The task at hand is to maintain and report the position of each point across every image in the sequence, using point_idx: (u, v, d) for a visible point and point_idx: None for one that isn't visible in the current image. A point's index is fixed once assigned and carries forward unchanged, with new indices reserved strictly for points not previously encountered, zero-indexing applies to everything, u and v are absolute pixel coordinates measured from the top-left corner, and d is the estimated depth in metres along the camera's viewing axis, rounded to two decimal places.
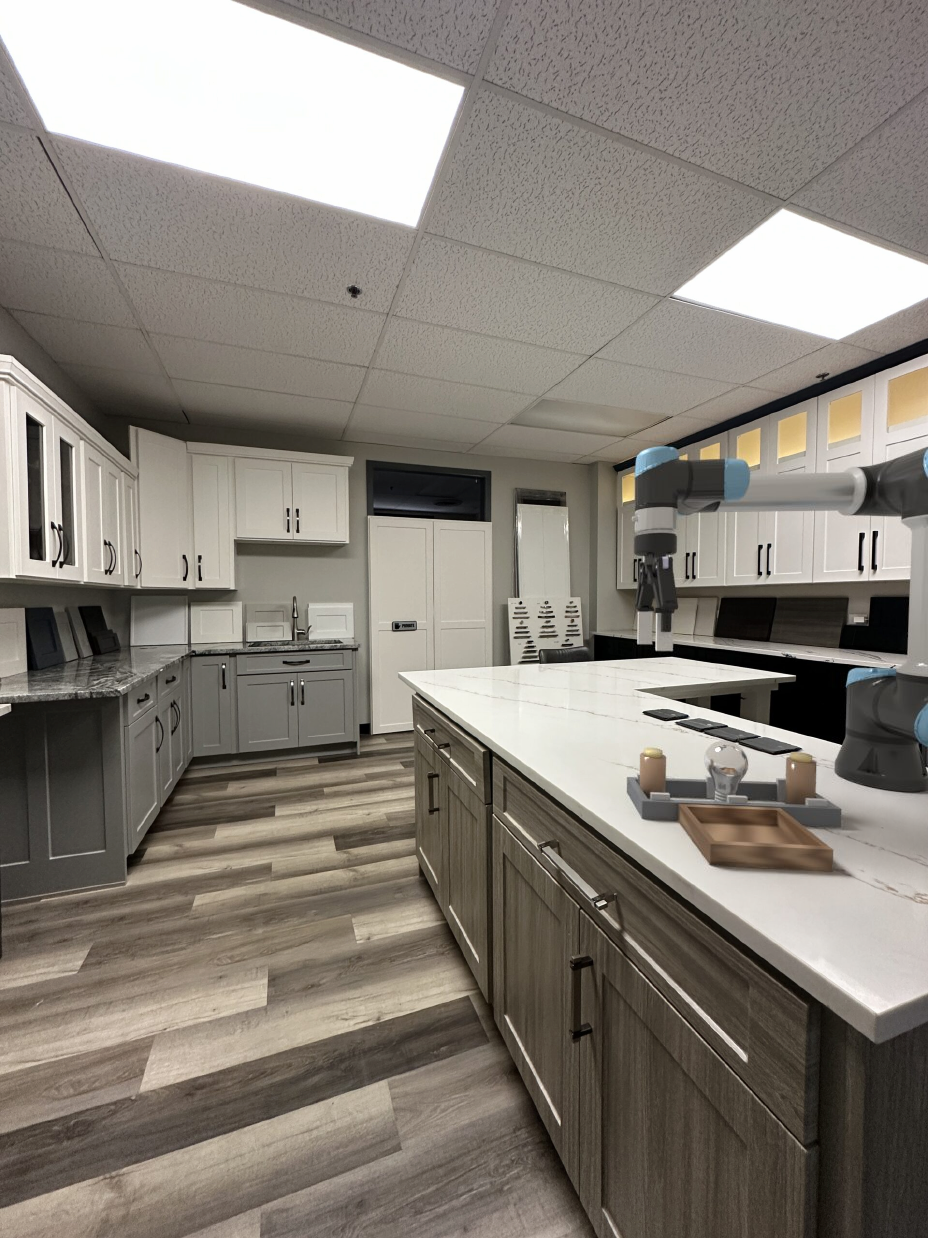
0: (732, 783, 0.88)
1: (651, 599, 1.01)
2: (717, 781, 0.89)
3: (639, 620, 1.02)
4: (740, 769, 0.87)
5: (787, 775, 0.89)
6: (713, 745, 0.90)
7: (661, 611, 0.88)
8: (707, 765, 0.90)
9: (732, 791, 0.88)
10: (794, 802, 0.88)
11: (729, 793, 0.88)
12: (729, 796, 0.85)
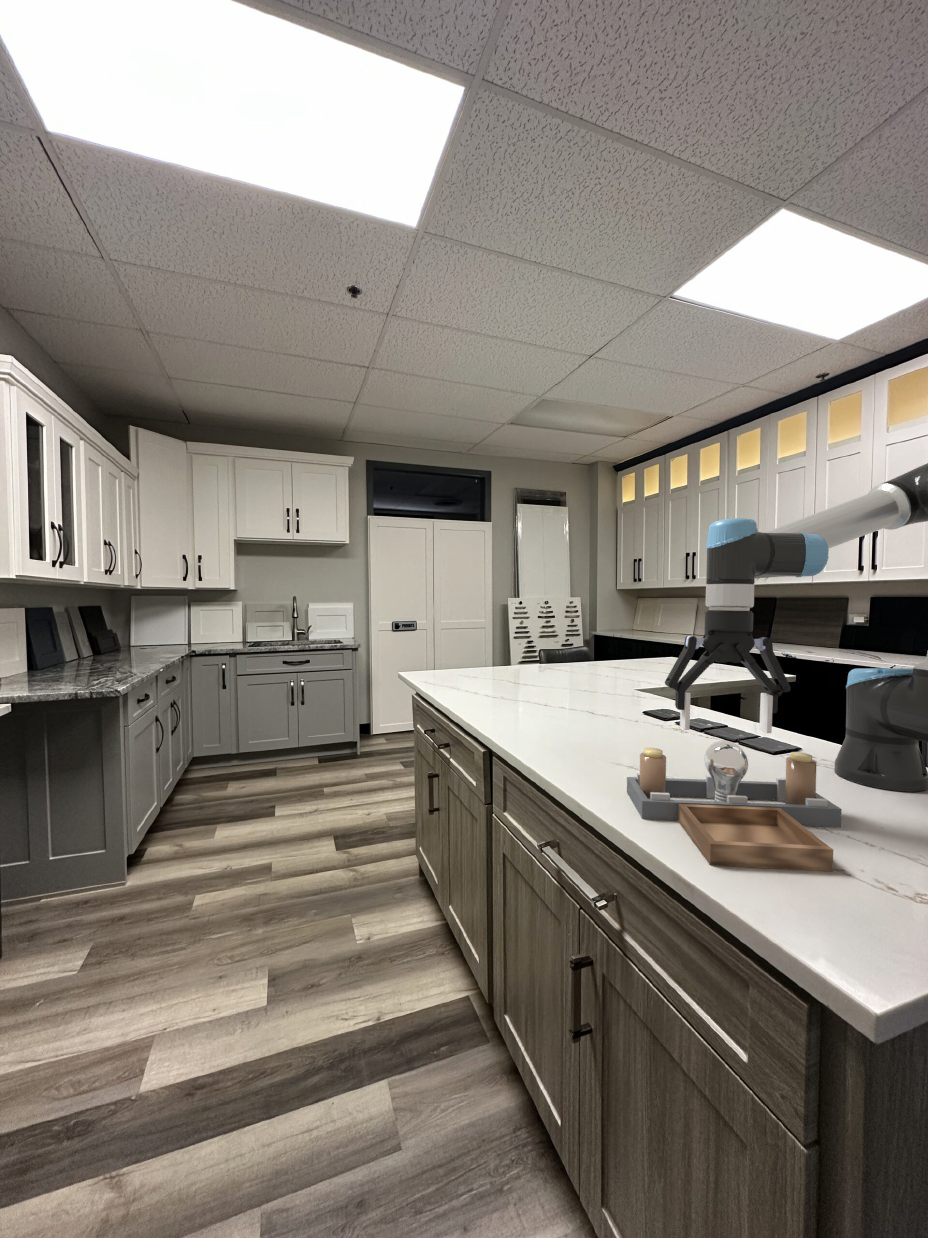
0: (732, 783, 0.88)
1: (761, 680, 0.88)
2: (717, 781, 0.89)
3: (761, 702, 0.90)
4: (740, 769, 0.87)
5: (787, 775, 0.89)
6: (713, 745, 0.90)
7: None
8: (707, 765, 0.90)
9: (732, 791, 0.88)
10: (794, 802, 0.88)
11: (729, 793, 0.88)
12: (729, 796, 0.85)
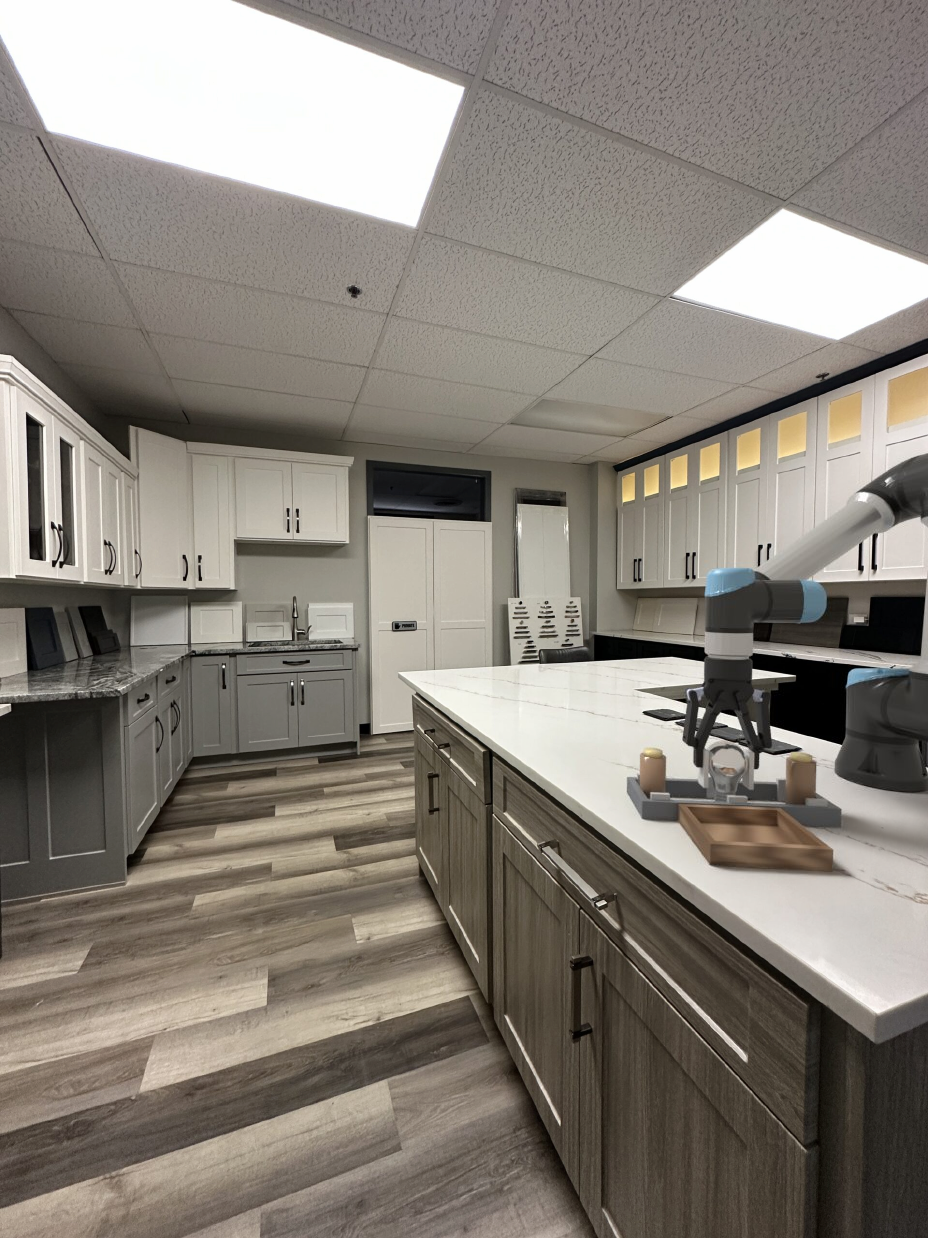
0: (732, 783, 0.88)
1: (747, 733, 0.89)
2: (717, 781, 0.89)
3: None
4: (740, 769, 0.87)
5: (787, 775, 0.89)
6: (712, 745, 0.90)
7: None
8: None
9: (732, 791, 0.88)
10: (794, 802, 0.88)
11: (729, 793, 0.88)
12: (729, 796, 0.85)
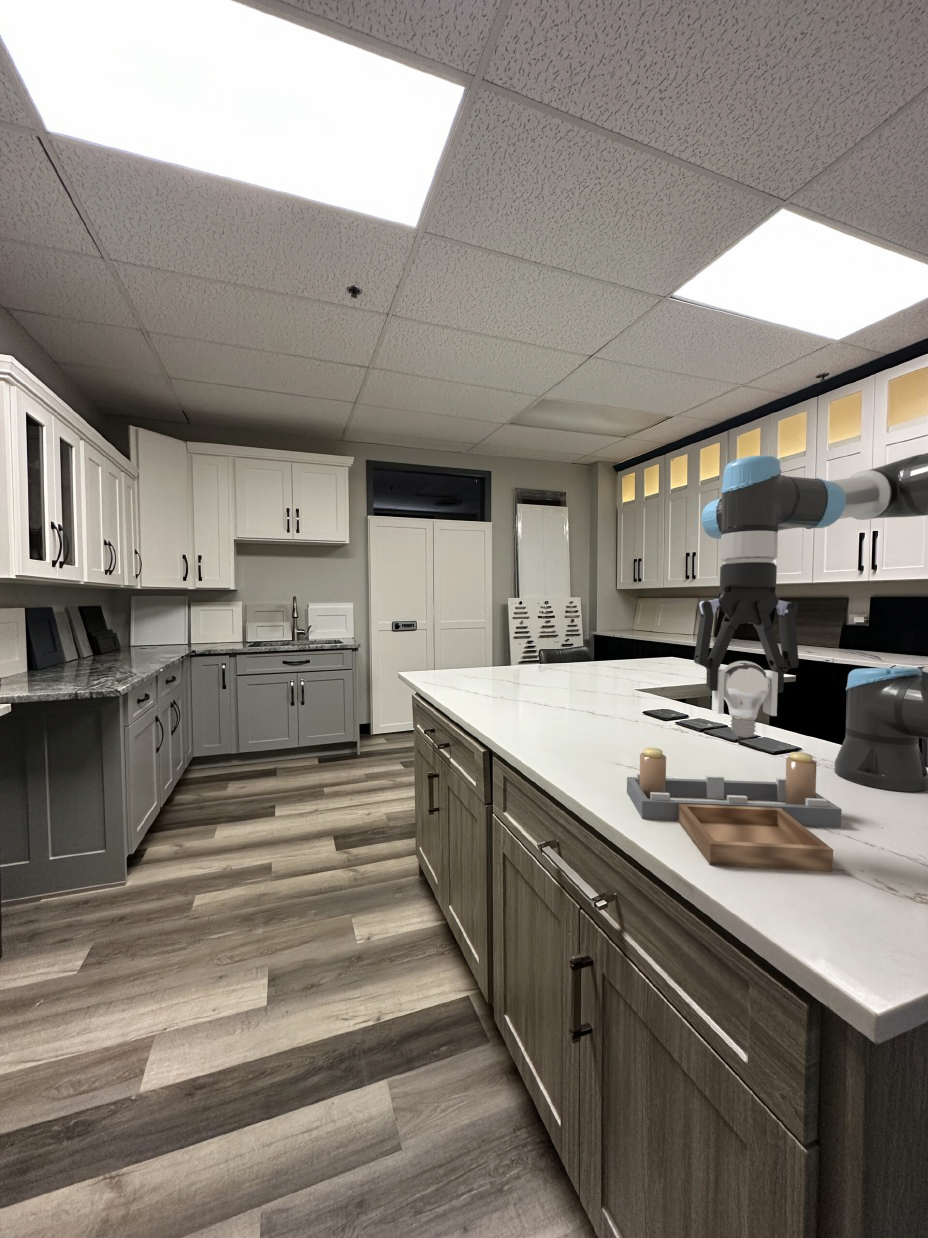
0: (751, 707, 0.76)
1: (769, 650, 0.77)
2: (734, 706, 0.77)
3: None
4: (760, 690, 0.75)
5: (787, 775, 0.89)
6: (729, 665, 0.78)
7: None
8: None
9: (751, 717, 0.76)
10: (794, 802, 0.88)
11: (747, 719, 0.76)
12: (729, 796, 0.85)
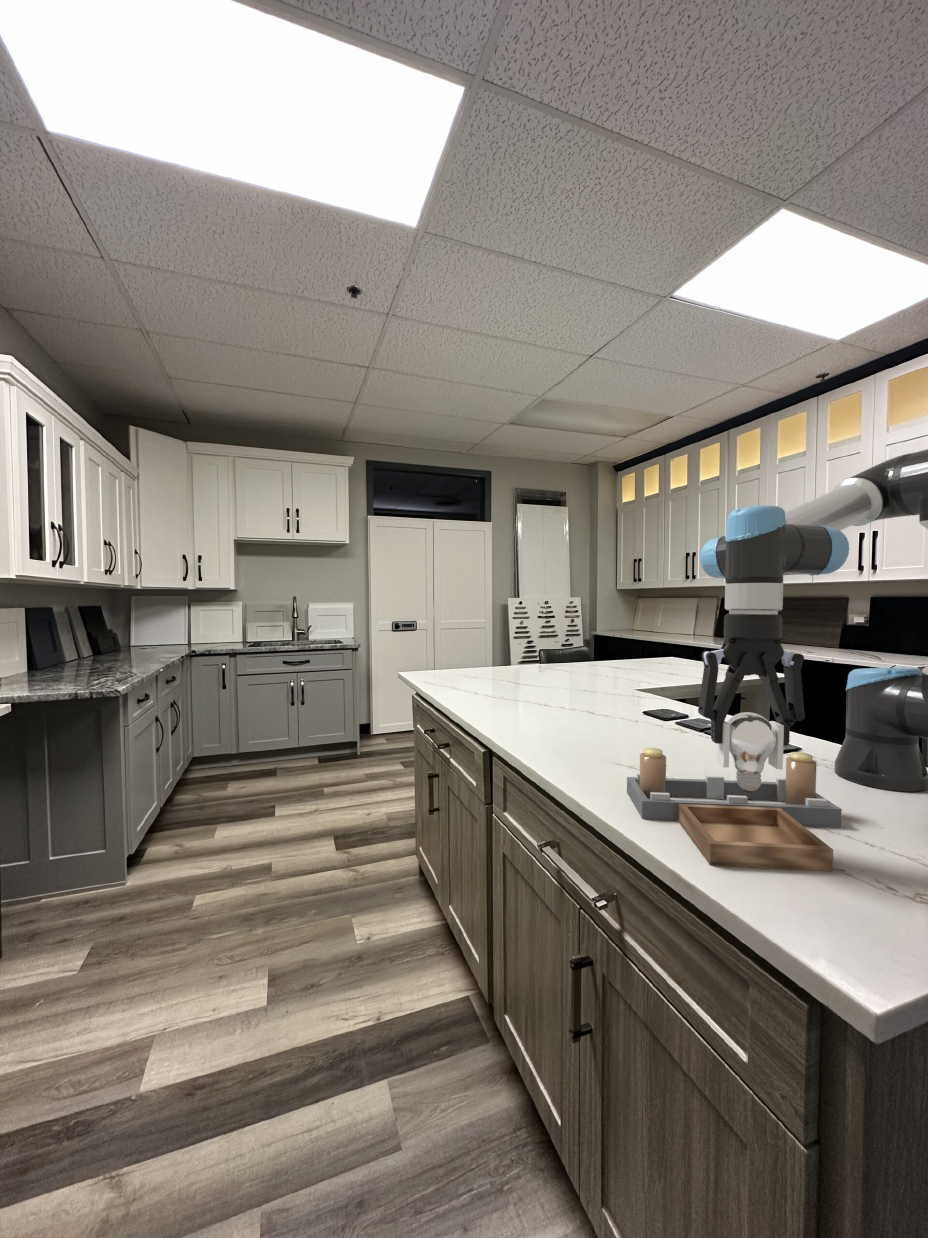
0: (757, 761, 0.74)
1: (775, 702, 0.75)
2: (739, 760, 0.76)
3: None
4: (767, 744, 0.73)
5: (787, 775, 0.89)
6: (734, 717, 0.77)
7: None
8: None
9: (758, 771, 0.75)
10: (794, 802, 0.88)
11: (753, 773, 0.75)
12: (729, 796, 0.85)
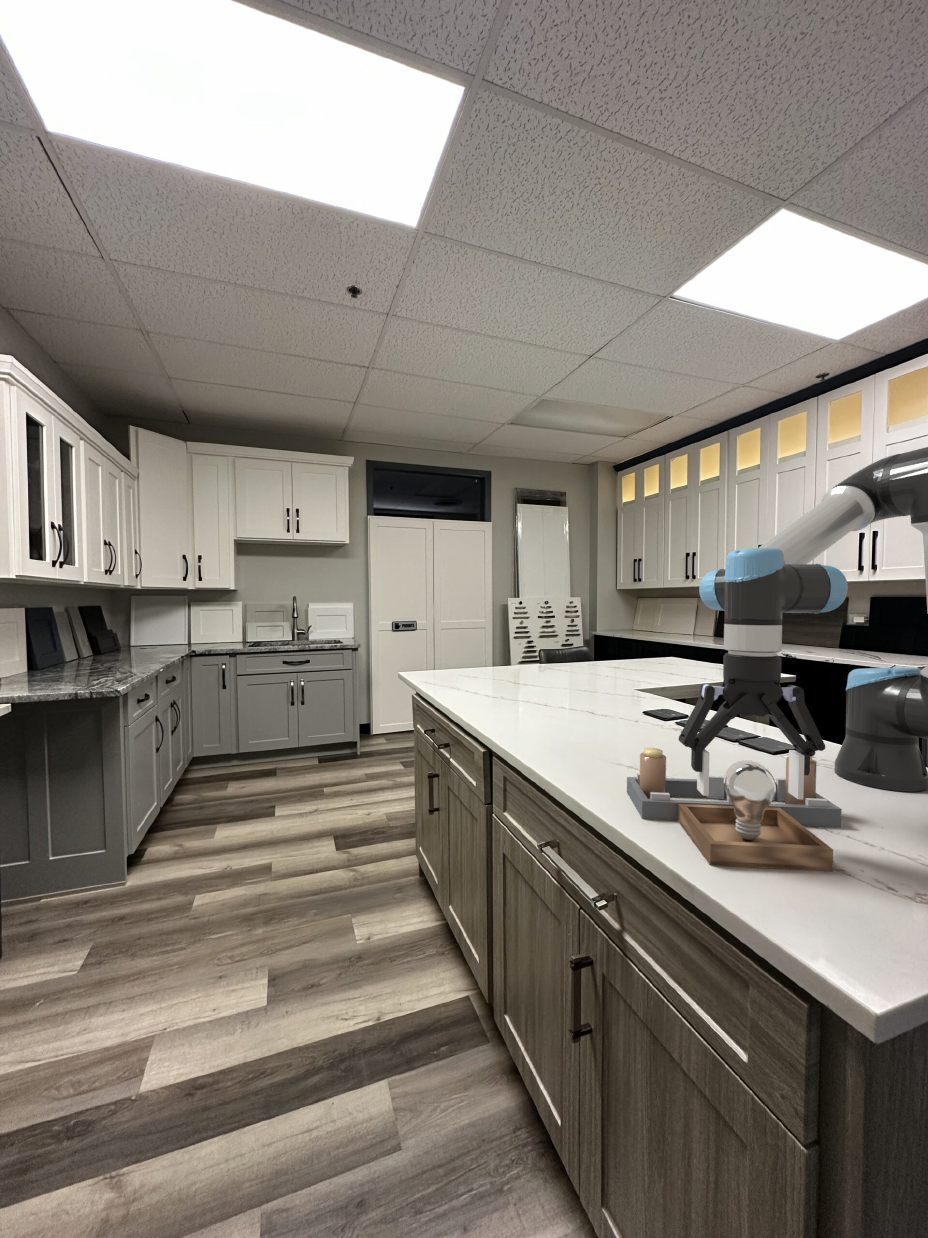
0: (757, 811, 0.75)
1: (790, 737, 0.75)
2: (739, 808, 0.76)
3: (789, 761, 0.77)
4: (767, 795, 0.73)
5: (787, 775, 0.89)
6: (734, 765, 0.77)
7: None
8: (727, 789, 0.77)
9: (757, 821, 0.75)
10: (794, 802, 0.88)
11: (753, 822, 0.75)
12: None
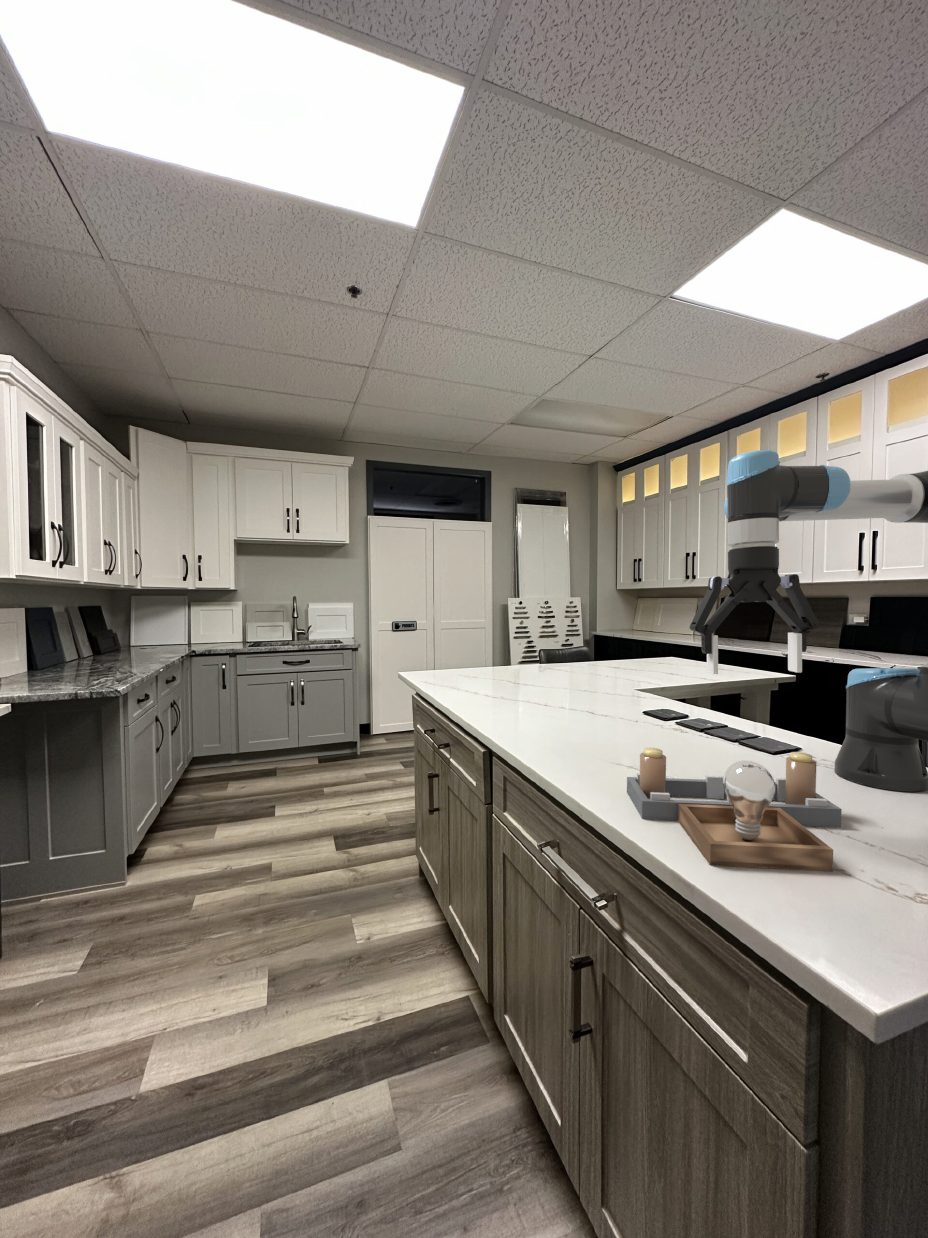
0: (756, 811, 0.75)
1: (789, 618, 0.85)
2: (739, 809, 0.76)
3: (788, 642, 0.87)
4: (766, 795, 0.73)
5: (787, 775, 0.89)
6: (733, 765, 0.77)
7: (701, 632, 0.88)
8: (726, 789, 0.77)
9: (757, 821, 0.75)
10: (794, 802, 0.88)
11: (753, 822, 0.75)
12: None
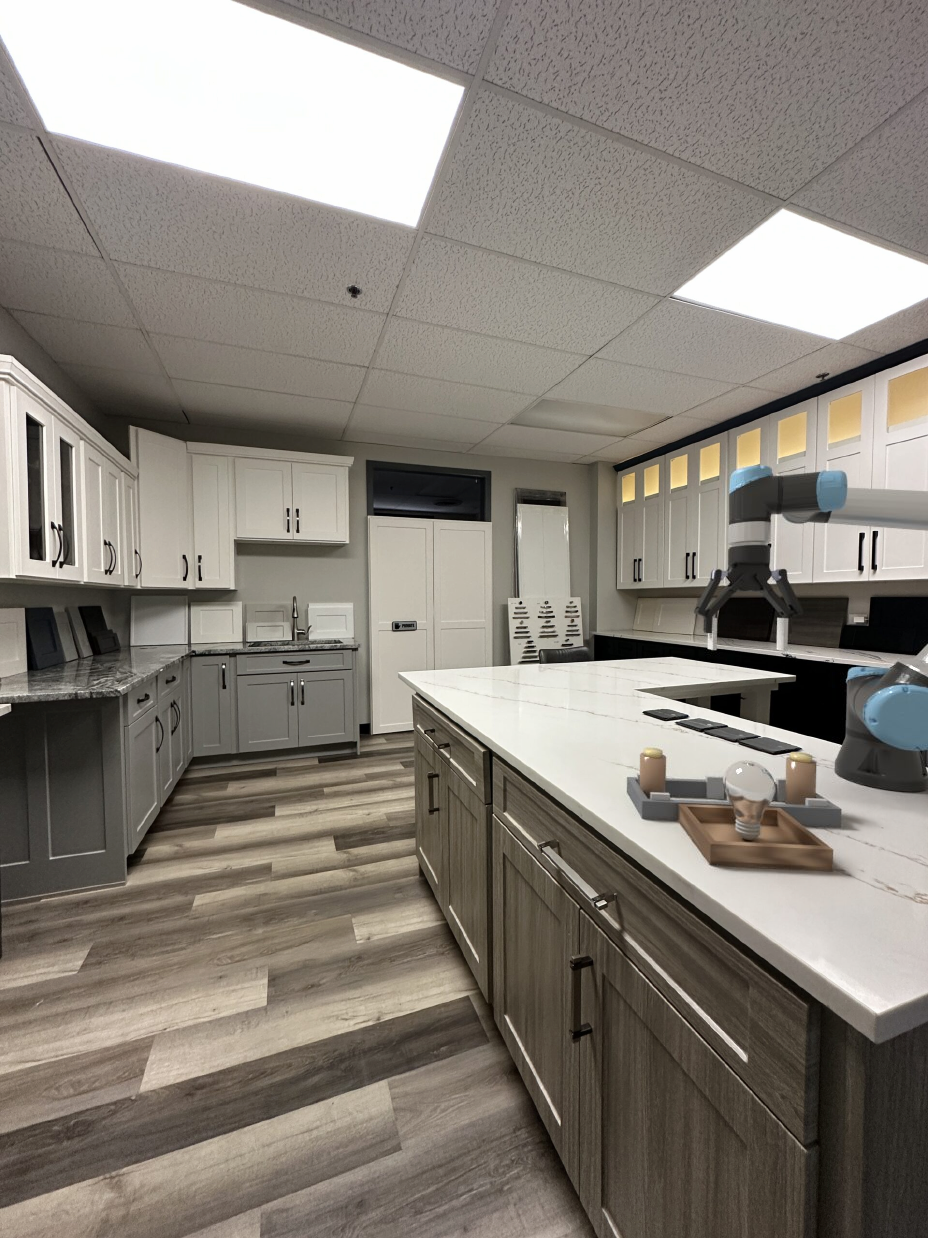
0: (756, 811, 0.75)
1: (777, 605, 1.02)
2: (739, 809, 0.76)
3: (777, 626, 1.04)
4: (766, 795, 0.73)
5: (787, 775, 0.89)
6: (733, 765, 0.77)
7: None
8: (727, 789, 0.77)
9: (757, 821, 0.75)
10: (794, 802, 0.88)
11: (753, 822, 0.75)
12: None
